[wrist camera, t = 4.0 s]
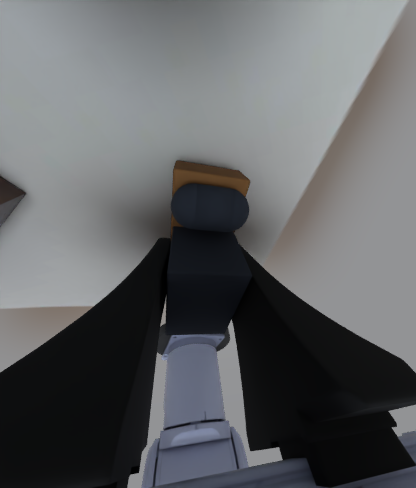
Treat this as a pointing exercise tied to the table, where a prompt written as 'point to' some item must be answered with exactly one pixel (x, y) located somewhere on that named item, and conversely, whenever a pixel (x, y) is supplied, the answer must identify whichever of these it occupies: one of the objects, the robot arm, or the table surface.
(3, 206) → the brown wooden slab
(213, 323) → the cube on wooden base
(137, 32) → the table surface
